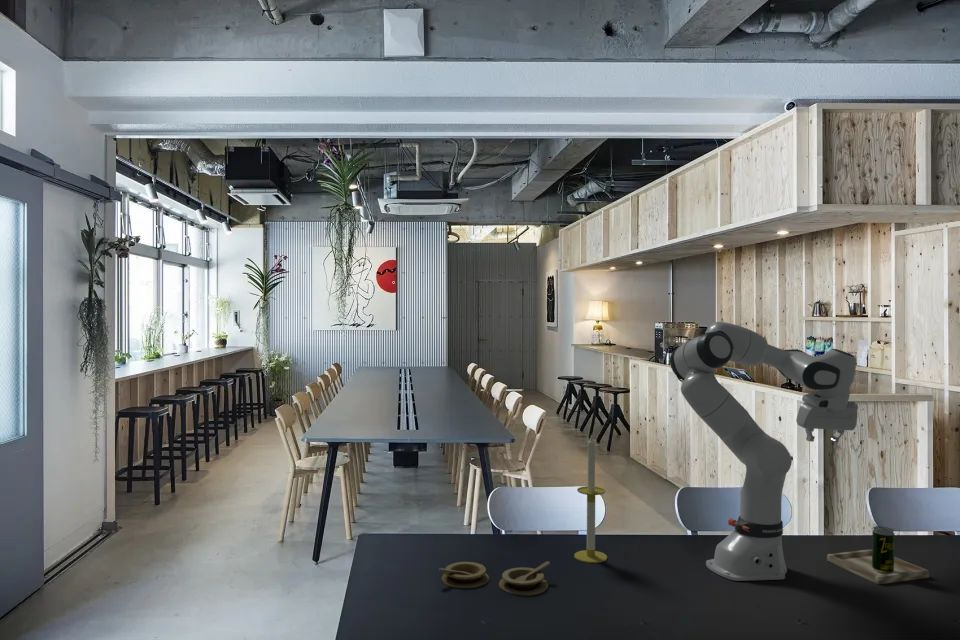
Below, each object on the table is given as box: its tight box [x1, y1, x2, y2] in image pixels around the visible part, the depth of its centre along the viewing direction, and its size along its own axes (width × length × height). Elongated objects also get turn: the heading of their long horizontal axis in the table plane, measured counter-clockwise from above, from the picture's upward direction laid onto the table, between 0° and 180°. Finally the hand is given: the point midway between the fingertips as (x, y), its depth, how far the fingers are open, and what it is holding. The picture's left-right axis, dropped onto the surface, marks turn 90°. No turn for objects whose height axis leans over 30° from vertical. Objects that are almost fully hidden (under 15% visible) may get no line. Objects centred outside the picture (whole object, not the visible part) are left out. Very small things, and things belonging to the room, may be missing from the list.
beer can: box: [871, 525, 895, 574], centre depth 191 cm, size 5×5×12 cm
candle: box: [573, 433, 608, 564], centre depth 203 cm, size 10×10×38 cm
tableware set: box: [438, 560, 551, 597], centre depth 184 cm, size 30×20×6 cm, turn 76°
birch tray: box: [826, 548, 930, 585], centre depth 194 cm, size 18×18×2 cm
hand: (822, 441), depth 214 cm, fingers open, 8 cm apart
